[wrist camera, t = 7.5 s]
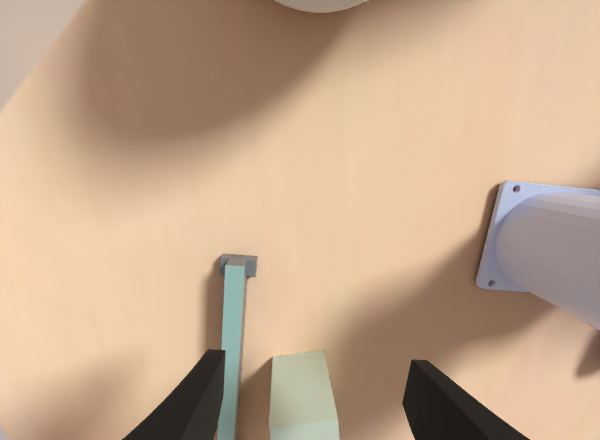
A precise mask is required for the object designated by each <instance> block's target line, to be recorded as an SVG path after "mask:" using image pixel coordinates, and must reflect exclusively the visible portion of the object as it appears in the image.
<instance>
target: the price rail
mask: <svg viewBox="0 0 600 440" xmlns="http://www.w3.org/2000/svg"><path fill="white" fill-rule="evenodd" d="M256 268H257V256H245V255H232V254H223V255H222V256H221V258H220V274H222V275H225V281H224V303H223V325H222V347H221V350H226V355H225V375H224V396H223V401H222V406H221V411H220V415H219V420H218V435H217V440H237V432H238V417H239V401H240V386H241V370H242V354H243V339H244V323H245V308H246V292H247V276H250V277H255V275H256Z"/></svg>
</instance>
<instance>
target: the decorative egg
mask: <svg viewBox="0 0 600 440" xmlns="http://www.w3.org/2000/svg"><path fill="white" fill-rule="evenodd" d="M274 1H276V2H278V3H280V4H282V5H284V6H286V7H290V8H293V9H297V10H300V11H306V12H314V13H330V12H336V11H341V10H345V9H348V8H351V7H354V6H357V5H359V4H361V3H364V2H366V1H368V0H274Z"/></svg>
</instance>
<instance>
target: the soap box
mask: <svg viewBox="0 0 600 440" xmlns="http://www.w3.org/2000/svg"><path fill="white" fill-rule="evenodd" d="M269 435H270V440H340V438H339V425H338V417H337V412H336V407H335V402H334V397H333V392H332V387H331V383H330V378H329V373H328V368H327V363H326V358H325V353H324V350H322V351H314V352H305V353H297V354H288V355H280V356H273V362H272V379H271V396H270V413H269Z"/></svg>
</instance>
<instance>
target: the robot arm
mask: <svg viewBox="0 0 600 440" xmlns="http://www.w3.org/2000/svg"><path fill="white" fill-rule="evenodd" d="M514 186H516V189H515V191H513V188H514ZM489 281H491V283H490V284H488V283H489ZM476 285H477V286H478V287H480V288H482V289H492V290H506V291H520V292H531V293H533V294H534V295H536V296H538V297H540V298H542V299H544V300H545V301H547V302H549V303H551V304H553V305H555V306H556V307H558V308H560V309H562V310H564V311H565V312H567V313H569V314H571V315H573V316H575V317H576V318H578V319H580V320H582V321H584V322H586V323H587V324H589V325H591V326H593V327H595V328H597V329H598V330H600V190H596V189H586V188H576V187H567V186H557V185H547V184H537V183H527V182H518V181H504V182H502V183H501V184H500V186H499V190H498V194H497V198H496V202H495V206H494V210H493V214H492V218H491V222H490V226H489V230H488V234H487V238H486V242H485V246H484V250H483V254H482V258H481V262H480V266H479V270H478V274H477V278H476ZM225 355H226V350H211V349H209V350H208V351H207V352H206V353H205V354H204V355H203V357H202V358H201V359H200V360H199V362H198V363H197V364H196V365H195V366H194V368H193V369H192V370H191V371H190V372H189V373H188V375H187V376H186V377H185V378H184V379H183V380H182V381H181V383H180V384H179V385H178V386H177V387H176V388H175V389H174V390H173V391H172V392H171V394H170V395H169V396H168V397H167V398H166V399H165V400H164V401H163V402H162V403H161V404H160V405H159V406H158V407H157V408H156V409H155V410H154V411H153V412H152V413H151V414H150V415H149V416H148V417H147V418H146V419H145V420H143V421H142V422H141V423H140V424H139V425H138V426H137V427H136V428H135V429H134V430H133V431H131V432H130V433H129V434H128V435H127V436H126V437H125V438H123V439H122V440H213V438H214V435H215V432H216V429H217V425H218V420H219V415H220V411H221V406H222V401H223V396H224V375H225ZM402 404H403V407H404V410H405V413H406V416H407V419H408V422H409V425H410V428H411V431H412V433H413V436H414V438H415V440H530V439H528V438H527V437H525V436H524V435H522V434H521V433H520V432H518V431H517V430H515V429H514V428H513V427H511V426H510V425H509V424H507V423H506V422H505V421H503V420H502V419H501V418H499V417H498V416H496V415H495V414H494V413H493V412H491V411H490V410H489V409H487V408H486V407H485V406H483V405H482V404H481V403H480V402H478V401H477V400H476V399H475V398H473V397H472V396H471V395H470V394H468V393H467V392H466V391H465V390H463V389H462V388H461V387H460V386H458V385H457V384H456V383H455V382H454V381H452V380H451V379H450V378H449V377H447V376H446V375H445V374H444V373H442V372H441V371H440V370H439V369H437V368H436V367H435V366H434V365H432V364H431V363H430V362H428V361H427V360H411V365H410V370H409V375H408V379H407V384H406V389H405V394H404V398H403V403H402Z"/></svg>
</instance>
